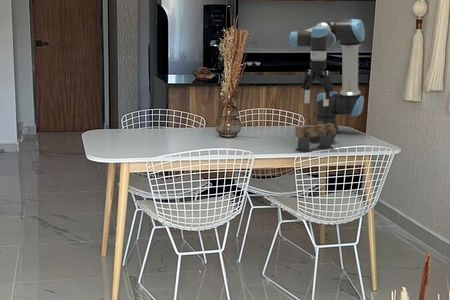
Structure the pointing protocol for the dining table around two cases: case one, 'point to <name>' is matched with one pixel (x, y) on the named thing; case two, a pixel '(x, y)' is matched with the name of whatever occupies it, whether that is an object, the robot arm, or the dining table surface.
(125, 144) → the dining table surface
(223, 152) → the dining table surface
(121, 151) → the dining table surface
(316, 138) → the decorative stone
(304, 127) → the rail
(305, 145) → the standards
